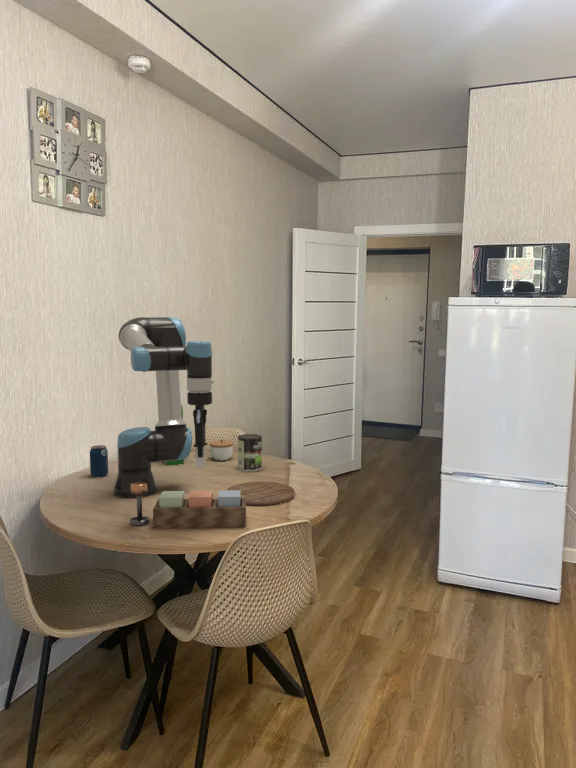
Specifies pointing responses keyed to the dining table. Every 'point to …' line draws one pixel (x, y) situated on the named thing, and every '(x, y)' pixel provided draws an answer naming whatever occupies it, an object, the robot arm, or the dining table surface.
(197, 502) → the terracotta button
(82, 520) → the dining table surface
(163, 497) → the sage button
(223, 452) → the lidded jar
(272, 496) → the trivet
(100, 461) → the soda can
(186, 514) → the button console
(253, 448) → the coffee can
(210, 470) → the dining table surface
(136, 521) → the indicator lamp
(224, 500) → the slate button
